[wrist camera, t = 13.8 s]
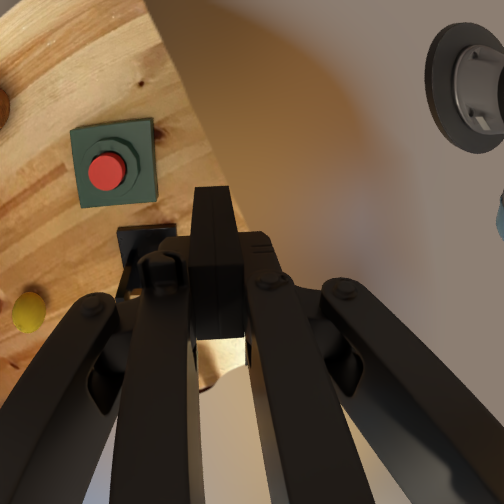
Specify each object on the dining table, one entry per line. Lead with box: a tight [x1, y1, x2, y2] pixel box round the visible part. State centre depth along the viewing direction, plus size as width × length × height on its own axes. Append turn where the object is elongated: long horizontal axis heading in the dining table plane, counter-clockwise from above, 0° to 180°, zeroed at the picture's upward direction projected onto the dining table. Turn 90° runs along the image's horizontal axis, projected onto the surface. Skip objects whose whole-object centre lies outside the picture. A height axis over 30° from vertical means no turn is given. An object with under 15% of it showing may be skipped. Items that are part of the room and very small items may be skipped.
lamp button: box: [89, 152, 126, 191], centre depth 32 cm, size 4×4×2 cm
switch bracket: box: [115, 224, 177, 303], centre depth 39 cm, size 10×8×12 cm
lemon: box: [12, 292, 46, 333], centre depth 40 cm, size 6×6×8 cm
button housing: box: [70, 118, 158, 208], centre depth 35 cm, size 10×10×4 cm
